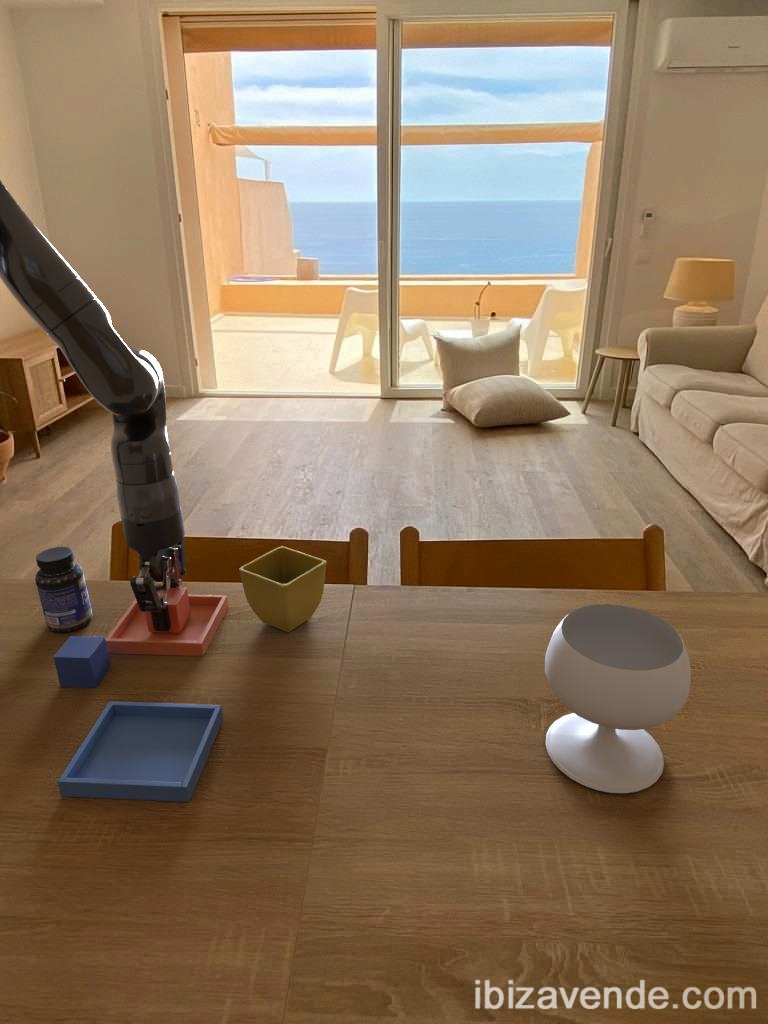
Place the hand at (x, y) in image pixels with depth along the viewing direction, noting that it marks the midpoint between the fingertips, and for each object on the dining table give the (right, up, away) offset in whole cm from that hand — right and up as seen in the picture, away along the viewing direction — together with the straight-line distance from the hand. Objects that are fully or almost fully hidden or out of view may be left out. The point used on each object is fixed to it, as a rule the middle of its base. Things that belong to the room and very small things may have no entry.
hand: (169, 619), depth 97 cm
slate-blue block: (-8, -6, -9) cm, 13 cm away
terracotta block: (0, -1, 0) cm, 1 cm away
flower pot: (+16, -1, +2) cm, 16 cm away
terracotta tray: (0, -1, +1) cm, 2 cm away
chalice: (+53, -11, -22) cm, 59 cm away
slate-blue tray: (+4, -11, -22) cm, 25 cm away
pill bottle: (-15, -1, +3) cm, 15 cm away
